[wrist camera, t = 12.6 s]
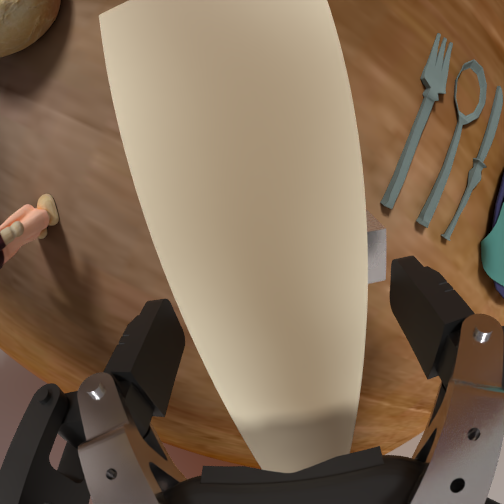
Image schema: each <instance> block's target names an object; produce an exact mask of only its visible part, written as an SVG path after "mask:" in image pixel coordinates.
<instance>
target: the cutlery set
mask: <svg viewBox="0 0 504 504" xmlns="http://www.w3.org/2000/svg"><path fill="white" fill-rule="evenodd" d="M440 36H441V34H439V33H437V36H436V39H435V42H434V45H433V48H432V50H431V53H430V56H429V58H428V61H427V63H426V66H425V68H424V70H423V73H422V76H421V81H422V82H423V84H424V86H425V87H426V89H425V91H424V92H423V96H424V99H423V102H422V104H421V107H420V109H419V112H418V114H417V116H416V119H415V121H414V124H413V126H412V129H411V132H410V134H409V137H408V139H407V142H406V144H405V147H404V149H403V152H402V154H401V157H400V159H399V162H398V164H397V167H396V170H395V172H394V175H393V177H392V179H391V182H390V184H389V186H388V188H387V190H386V192H385V194H384V197H383V199H382V200H381V202H380V203H382V204H383V205H384V206H386V207H388V208H390V209H392V208H393V205H394V203H395V201H396V199H397V196H398V194H399V192H400V190H401V187H402V185H403V183H404V180H405V178H406V175H407V172H408V169H409V166H410V164H411V161H412V158H413V156H414V153H415V150H416V147H417V145H418V142H419V139H420V136H421V134H422V131H423V129H424V126H425V124H426V122H427V119H428V117H429V114H430V112H431V109H432V106H433V103H434V101H438V100H439V99H438V94H446V92H445V88H446V82H447V75H448V69H449V60H450V54H451V50H452V45H453V44H452V43H451V42H450V43H449V46H448V49H447V52H446V55H445V58H444V61H443V56H444V50H445V45H446V41H447V39H446V38H444V39H443V41H442V44H441V47H440V50H439V53H438V56H437V50H438V44H439V40H440ZM436 57H437V58H436ZM468 68H471V69H472V70H473V71H474V72H475V73H476V74H477V76H478V80H479V85H480V99H479V104H478V105H477V107H476V109H475V111H474V113H471V114H469V115H467V116H465V115H464V114H463V113H461V112H460V111H459V110H458V105H457V101H456V90H457V79H458V77H459V75H460V73H461V71H463V70H466V69H468ZM461 71H460V73H459V75H458V76H457V78H456V80H455V90H454V100H455V104H456V108H457V112H458V122H457V125H456V129H455V132H454V136H453V139H452V141H451V144H450V147H449V150H448V153H447V156H446V158H445V161H444V164H443V167H442V169H441V171H440V174H439V176H438V178H437V180H436V183H435V185H434V187H433V189H432V191H431V193H430V196H429V198H428V200H427V201H426V203H425V205H424V207H423V209H422V211H421V213H420V215H419V217H418V219H417V220H416V221H417V222H418V223H420V224H421V225H423V226H425V227H427V228H428V225H429V223H430V221H431V219H432V216H433V214H434V212H435V209H436V207H437V205H438V202H439V200H440V197H441V195H442V192H443V190H444V187H445V184H446V182H447V179H448V177H449V174H450V171H451V168H452V164H453V161H454V157H455V154H456V150H457V147H458V143H459V140H460V135H461V131H462V126H463V125H464V124H468V123H470V122H471V121H473V120H475V119H477V118H478V117H479V115H480V113H481V111H482V109H483V107H484V105H485V100H486V87H487V84H486V79H485V75H484V71H483V68H482V66H481V65H479V64H478V63H477V62H476V61H475V60H471V61H469V62H467V63H465V64H464V65H463V67H462V69H461ZM502 104H503V95H502V89H501V87H500V86H497V90H496V94H495V99H494V103H493V107H492V111H491V115H490V118H489V122H488V125H487V129H486V132H485V135H484V139H483V142H482V145H481V148H480V151H479V154H478V156H477V158H473V162H474V167H473V168H472V169H471V170H470V171H469V176H468V186H467V188H466V191H465V193H464V195H463V198H462V200H461V203H460V205H459V207H458V210H457V212H456V214H455V216H454V218H453V220H452V221H451V223H450V225H449V227H448V229H447V230H446V232H445V234H442V236H443V237H444V238H445V239H447V240H449V241H450V236H451V234H452V232H453V229H454V227H455V225H456V223H457V221H458V218H459V216H460V214H461V212H462V210H463V209H464V207H465V205H466V203H467V201H468V199H469V197H470V195H471V192H472V190H473V189H474V187H475V186H476V185H477V184H478V183H479V181H480V180H481V171H482V169H483V168H486V166H485V164H484V163H483V161H484V159H485V157H486V155H487V153H488V151H489V149H490V146H491V144H492V141H493V138H494V135H495V132H496V129H497V125H498V122H499V118H500V113H501V109H502ZM481 259H482V264H483V268H484V270H485V271H486V273H487V274H488V275H489V276H490V277H491V278H492V279H493V281H494V285H495V288H496V290H497V291H498V292H499V293H500V294H501V296H502V297H503V298H504V174H503V178H502V182H501V185H500V189H499V193H498V196H497V199H496V203H495V210H494V218H493V224H492V230H491V232H490V233H489V235H488V236H487V237H486V238H485V239H483V240H482V241H481Z"/></svg>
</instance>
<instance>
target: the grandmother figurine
mask: <svg viewBox="0 0 504 504" xmlns="http://www.w3.org/2000/svg"><path fill="white" fill-rule="evenodd" d="M58 220H59V216H58V212H57V209H56V205H55V202H54V199H53V198H52V196H51V195H49V194H44V195H42V196H41V197H40V198H39V200H38V203H37V208H34V207H32V206H31V205H28V204H27V205H24V206H23V207H22V208H20V209H19V210H17V211H16V212H15V213H14V214H12V215H11V216H10V217H9V218H8V219H7V220H6V221H5V222H4V223H3V224H2V225H1V226H0V269H1V268H2V266H3V265H4V263H6V262H7V261H8V260H9V259H10V258H11V257H12V256H14V255H15V254H16V252H17V251H18V250H19V249H20V247H21V246H22V245H24V244H27V243H29V242H31V241H32V240H34V239H36V238H37V237H38V238H39V239H43V238H45V237H46V235H47V228H46V227H47V226H48V225H50V226H52V225H55V224H57V223H58Z"/></svg>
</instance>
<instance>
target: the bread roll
mask: <svg viewBox="0 0 504 504" xmlns="http://www.w3.org/2000/svg"><path fill="white" fill-rule="evenodd" d="M60 2H61V0H0V57H4V56H7V55H10V54H13V53H16V52H18V51H21V50H23V49H25V48H26V47H28V46H29V45H31V44H33V43H34V42H35V41H37V40H38V39H39V38H40V37H41V36H42V35H43V34H44V33H45V32H46V31H47V30H48V29H49V28H50V26H51V25H52V23H53V22H54V21H55V18H56V17H57V14H58V11H59V7H60Z"/></svg>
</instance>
